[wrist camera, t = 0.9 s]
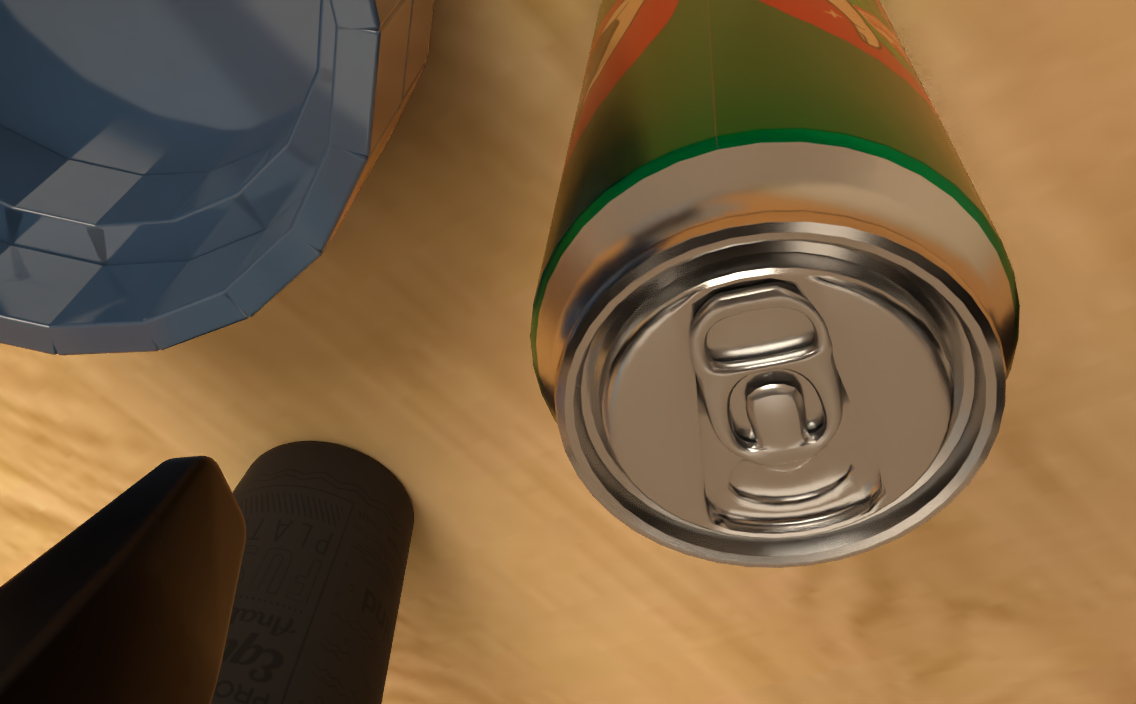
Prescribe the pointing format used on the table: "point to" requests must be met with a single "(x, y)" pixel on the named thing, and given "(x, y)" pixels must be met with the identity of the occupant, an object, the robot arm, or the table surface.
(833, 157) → the soda can
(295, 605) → the drinking cup
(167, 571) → the robot arm
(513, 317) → the table surface
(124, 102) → the bowl
